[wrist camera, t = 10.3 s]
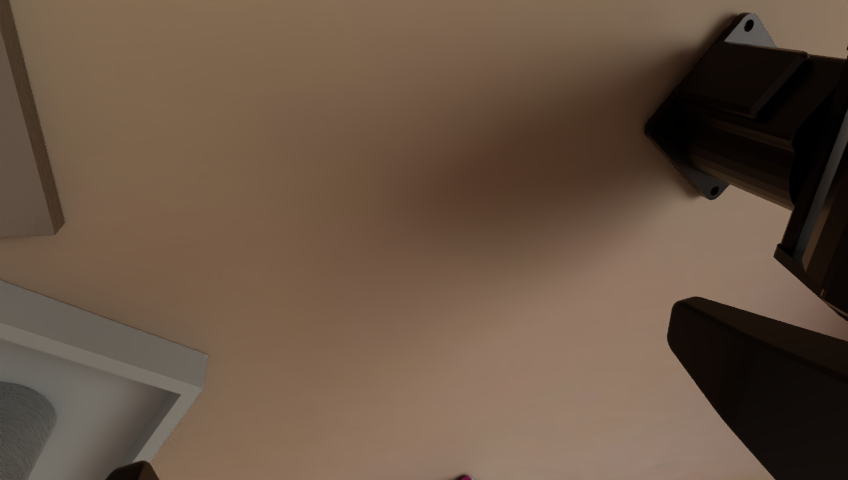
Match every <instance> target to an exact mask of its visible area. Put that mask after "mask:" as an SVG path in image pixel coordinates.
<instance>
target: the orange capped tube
mask: <svg viewBox="0 0 848 480" xmlns="http://www.w3.org/2000/svg"><path fill="white" fill-rule="evenodd" d="M56 420H57V417H56V412H55V409H54V407H53V406H52V404H51V403H50V402H49V401H48V400H47V399H46V398H45V397H44V396H43V395H41V394H40V393H38V392H37V391H35V390H33V389H31V388H28V387H25V386H22V385H19V384H14V383H8V382H0V480H28V478H29V476H30V474H31V472H32V470H33V469H34V467H35V465H36V463H37V461H38V459H39V457H40V455H41V453H42V451H43V449H44V447H45V445H46V443H47V442H48V440H49V438H50V436H51V434H52V432H53V430H54V428H55V425H56Z"/></svg>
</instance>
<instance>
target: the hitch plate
mask: <svg viewBox="0 0 848 480" xmlns="http://www.w3.org/2000/svg"><path fill="white" fill-rule="evenodd" d="M64 223H65V222H64V218H63V214H62V210H61V206H60V202H59V198H58V194H57V190H56V186H55V182H54V178H53V174H52V170H51V166H50V162H49V158H48V154H47V150H46V146H45V142H44V138H43V134H42V130H41V126H40V122H39V118H38V114H37V111H36V107H35V103H34V99H33V95H32V91H31V87H30V83H29V79H28V75H27V71H26V67H25V63H24V59H23V55H22V51H21V47H20V43H19V39H18V35H17V31H16V27H15V23H14V19H13V15H12V11H11V7H10V3H9V0H0V237H18V236H43V235H55V234H56V233H57V232H58V231H59V229H60V228H61V227H62V226H63V224H64Z"/></svg>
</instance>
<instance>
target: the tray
mask: <svg viewBox="0 0 848 480" xmlns="http://www.w3.org/2000/svg"><path fill="white" fill-rule="evenodd" d="M207 359H208V355H207V354H204V353H201V352H199V351H196V350H193V349H190V348H187V347H185V346H182V345H179V344H176V343H174V342H171V341H168V340H165V339H162V338H160V337H157V336H154V335H151V334H149V333H146V332H143V331H140V330H137V329H135V328H132V327H129V326H126V325H124V324H121V323H118V322H115V321H113V320H110V319H107V318H104V317H101V316H99V315H96V314H93V313H90V312H88V311H85V310H82V309H79V308H76V307H74V306H71V305H68V304H65V303H63V302H60V301H57V300H54V299H52V298H49V297H46V296H43V295H40V294H38V293H35V292H32V291H29V290H27V289H24V288H21V287H18V286H15V285H13V284H10V283H7V282H4V281H2V280H0V382H8V383H14V384H19V385H22V386H25V387H28V388H31V389H33V390H35V391H37V392H38V393H40V394H41V395H43V396H44V397H45V398H46V399H47V400H48V401H49V402H50V403H51V404H52V406H53V407H54V409H55V412H56V417H57V420H56V425H55V428H54V430H53V432H52V434H51V436H50V438H49V440H48V442H47V443H46V445H45V447H44V449H43V451H42V453H41V455H40V457H39V459H38V461H37V463H36V465H35V467H34V469H33V470H32V472H31V474H30V476H29V478H28V480H105V479H106V478H107V477H108V475H109V474H110V473H111V472H112V471H113V470H114V469H116V468H118V467H120V466H124V465H127V464H130V463H134V462H137V461H141V460H145V461H147V462H149V463H150V462H151V460H152V459H153V457H154V456H155V455H156V453H157V452H158V451H159V449H160V448H161V446H162V445H163V444H164V442H165V441H166V440H167V438H168V437H169V435H170V434H171V433H172V431H173V430H174V429H175V427H176V426H177V424H178V423H179V422H180V420H181V419H182V418H183V416H184V415H185V413H186V412H187V411H188V409H189V408H190V407H191V405H192V404H193V403H194V401H195V400H196V398H197V397H198V396H199V394H200V393H201V392H202V390H203V389H204V382H205V375H206V367H207Z"/></svg>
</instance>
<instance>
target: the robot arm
mask: <svg viewBox="0 0 848 480" xmlns="http://www.w3.org/2000/svg"><path fill="white" fill-rule="evenodd" d="M745 23H746V26H745V28H744V25H745ZM847 50H848V47H847ZM658 125H659V126H658ZM657 126H658V129H657V131H655V129H656V127H657ZM644 130H645V135H646V136H647V137H648V138H649V140H650V141H651V142H652V143H653V144H654V145H655V146H656V147H657V148H658V149H659V150H660V151H661V152H662V154H663V155H664V156H665V157H666V158H667V159H668V160H669V161H670V162H671V163H672V164H673V165H674V166H675V168H676V169H677V170H678V171H679V172H680V173H681V174H682V175H683V176H684V177H685V178H686V179H687V180H688V182H689V183H690V184H691V185H692V186H693V187H694V188H695V189H696V190H697V191H698V192H699V193H700V195H701V196H703V197H705V198H707V199H709V200H714V199H716V198H717V197H718V196H720V194H721V193H722V192H723V191H724V190H725V189H726V188H727V187H728V186H729V185H733V186H735V187H737V188H740V189H742V190H744V191H747V192H749V193H751V194H754V195H756V196H758V197H761V198H763V199H765V200H768V201H770V202H772V203H775V204H777V205H780V206H782V207H784V208H787V209H789V210H791V211H792V213H791V216H790V219H789V221H788V224H787V227H786V230H785V233H784V235H783V238H782V241H781V243H780V244H778V245H777V247H776V250H775V253H774V256H773V257H774V258H775V259H776V260H777V261H779V262H780V263H781V264H782V265H783V266H784V267H785V268H786V269H788V270H789V271H790V272H791V273H792V274H793V275H794V276H795V277H797V278H798V279H799V280H800V281H801V282H802V283H803V284H805V285H806V286H807V287H808V288H809V289H810V290H811V291H812V292H814V293H815V294H816V295H817V296H818V297H819V298H820V299H821V300H823V301H824V302H825V303H826V304H827V305H828V306H829V307H830V308H832V309H833V310H834V311H835V312H836V313H837V314H838V315H840V316H841V317H842V318H844V319H845V320H846V321H848V56H847V59H842V58H835V57H827V56H819V55H811V54H808V53H807V52H805V51H798V50H790V49H782V48H777V47H776V46H775V44H774V42H773V41H772V39H771V37H770V36H769V34H768V32H767V31H766V29H765V27H764V26H763V24H762V22H761V21H760V19H759V17H758V16H757V15H756V14H755V13H741V14H739V15H738V16H737V17H736V18H735V19H734V21H733V22H732V23H731V24H730V25H729V26H728V28H727V29H726V30H725V31H724V32H723V34H722V35H721V36H720V37H719V38H718V39H717V41H716V42H715V43H714V44H713V45H712V47H711V48H710V49H709V50H708V51H707V52H706V54H705V55H704V56H703V57H702V58H701V59H700V61H699V62H698V63H697V64H696V65H695V67H694V68H693V69H692V70H691V71H690V72H689V74H688V75H687V76H686V77H685V78H684V79H683V81H682V82H681V83H680V84H679V85H678V87H677V88H676V89H675V90H674V91H673V92H672V94H671V95H670V96H669V97H668V98H667V99H666V101H665V102H664V103H663V104H662V105H661V107H660V108H659V109H658V110H657V111H656V112H655V114H654V115H653V116H652V117H651V118H650V119H649V121H648V122H647V124H646V126H645V129H644ZM667 341H668V344H669V346H670V348H671V350H672V352H673V353H674V354H675V356H676V357H677V358H678V360H679V361H680V362H681V364H682V365H683V367H684V368H685V369H686V371H687V372H688V373H689V375H690V376H691V378H692V379H693V380H694V382H695V383H696V384H697V386H698V387H699V388H700V390H701V391H702V393H703V394H704V395H705V397H706V398H707V399H708V401H709V402H710V403H711V405H712V406H713V408H714V409H715V410H716V411H717V413H718V414H719V415H720V417H721V418H722V419H723V420H724V422H725V423H726V424H727V425H728V426H729V428H730V429H731V430H732V431H733V432H734V433H735V435H736V436H737V437H738V438H739V439H740V440H741V441H742V442H743V444H744V445H745V446H746V447H747V448H748V449H749V450H750V452H751V453H752V454H753V455H754V456H755V457H756V458H757V459H758V461H759V462H760V463H761V464H762V465H763V466H764V467H765V469H766V470H767V471H768V472H769V473H770V474H771V475H772V476H773V478H774V479H775V480H848V342H847V341H844V340H841V339H838V338H834V337H831V336H828V335H824V334H821V333H818V332H814V331H811V330H808V329H804V328H801V327H798V326H794V325H791V324H788V323H784V322H781V321H778V320H774V319H771V318H768V317H764V316H761V315H758V314H755V313H751V312H748V311H745V310H741V309H738V308H735V307H731V306H728V305H725V304H721V303H718V302H715V301H711V300H708V299H705V298H701V297H690V298H687V299H683V300H680V301H677V302H676V303H675V304H674V305H673V307H672V311H671V316H670V322H669V327H668V333H667ZM105 480H159V478H158V477H157V475H156V473H155V471H154V470H153V468H152V466H151V465H150V463H149V462H147V461H145V460H141V461H137V462H134V463H130V464H127V465H124V466H120V467H118V468H116V469H114V470H113V471H112V472H111V473H110V474H109V475H108V477H107V478H106V479H105Z"/></svg>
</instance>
